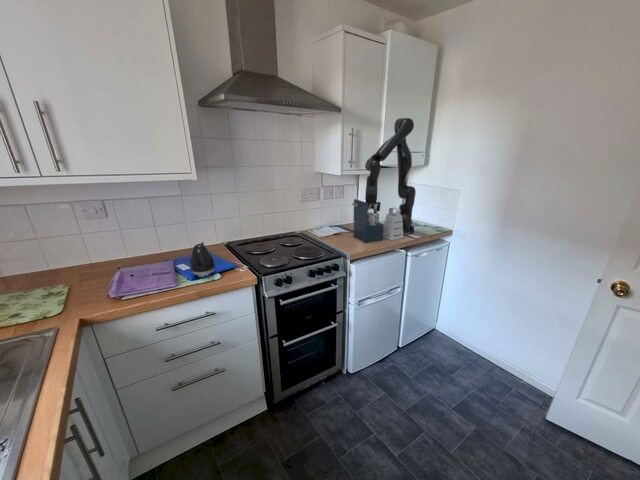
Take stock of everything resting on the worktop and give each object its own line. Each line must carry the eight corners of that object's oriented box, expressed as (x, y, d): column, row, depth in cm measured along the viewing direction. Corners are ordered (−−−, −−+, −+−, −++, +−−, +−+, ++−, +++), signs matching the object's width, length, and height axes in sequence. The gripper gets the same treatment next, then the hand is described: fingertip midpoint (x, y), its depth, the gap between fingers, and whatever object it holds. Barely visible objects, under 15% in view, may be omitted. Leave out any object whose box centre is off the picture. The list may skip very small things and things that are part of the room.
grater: (391, 240, 198) (393, 210, 191) (381, 236, 206) (383, 207, 199) (403, 238, 203) (406, 209, 196) (393, 234, 212) (395, 206, 204)
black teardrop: (218, 269, 146) (213, 240, 140) (213, 278, 136) (208, 247, 131) (196, 270, 144) (190, 240, 139) (189, 279, 135) (182, 248, 129)
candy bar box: (378, 237, 200) (379, 213, 194) (374, 239, 196) (376, 215, 190) (363, 234, 205) (364, 211, 199) (360, 236, 202) (361, 212, 195)
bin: (369, 234, 210) (370, 219, 206) (382, 240, 198) (383, 224, 194) (353, 236, 203) (353, 221, 199) (365, 243, 191) (366, 226, 187)
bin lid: (354, 198, 194) (348, 199, 191) (367, 202, 182) (360, 203, 180) (354, 220, 199) (347, 221, 197) (366, 225, 187) (360, 226, 185)
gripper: (365, 194, 183) (364, 220, 190) (384, 193, 190) (382, 218, 196) (358, 192, 189) (357, 218, 195) (377, 191, 196) (375, 216, 202)
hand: (370, 218), depth 196 cm, fingers open, 7 cm apart
